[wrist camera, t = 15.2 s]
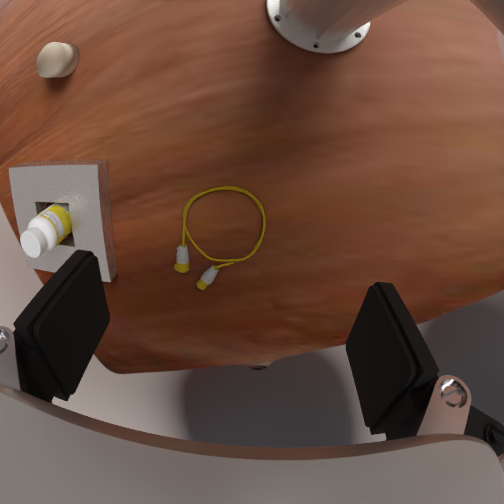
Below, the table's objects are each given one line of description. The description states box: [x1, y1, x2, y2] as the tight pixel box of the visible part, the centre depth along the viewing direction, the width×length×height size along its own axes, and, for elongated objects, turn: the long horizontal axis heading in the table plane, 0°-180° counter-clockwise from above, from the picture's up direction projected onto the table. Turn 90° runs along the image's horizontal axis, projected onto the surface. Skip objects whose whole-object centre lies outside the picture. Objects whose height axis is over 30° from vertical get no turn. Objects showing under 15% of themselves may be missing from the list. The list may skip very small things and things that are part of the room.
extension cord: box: [174, 186, 266, 290], centre depth 39 cm, size 12×16×2 cm
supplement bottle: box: [20, 202, 72, 258], centre depth 34 cm, size 5×5×10 cm
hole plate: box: [9, 159, 118, 282], centre depth 37 cm, size 18×18×3 cm
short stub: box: [36, 42, 80, 78], centre depth 25 cm, size 5×5×4 cm
